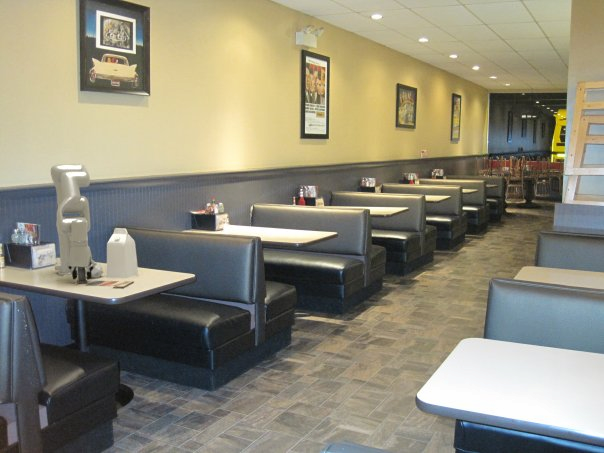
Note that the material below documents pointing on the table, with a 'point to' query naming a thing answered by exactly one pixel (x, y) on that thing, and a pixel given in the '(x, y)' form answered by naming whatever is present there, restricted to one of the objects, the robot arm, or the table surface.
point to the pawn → (81, 276)
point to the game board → (107, 283)
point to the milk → (121, 255)
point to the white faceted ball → (96, 271)
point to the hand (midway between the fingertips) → (82, 278)
